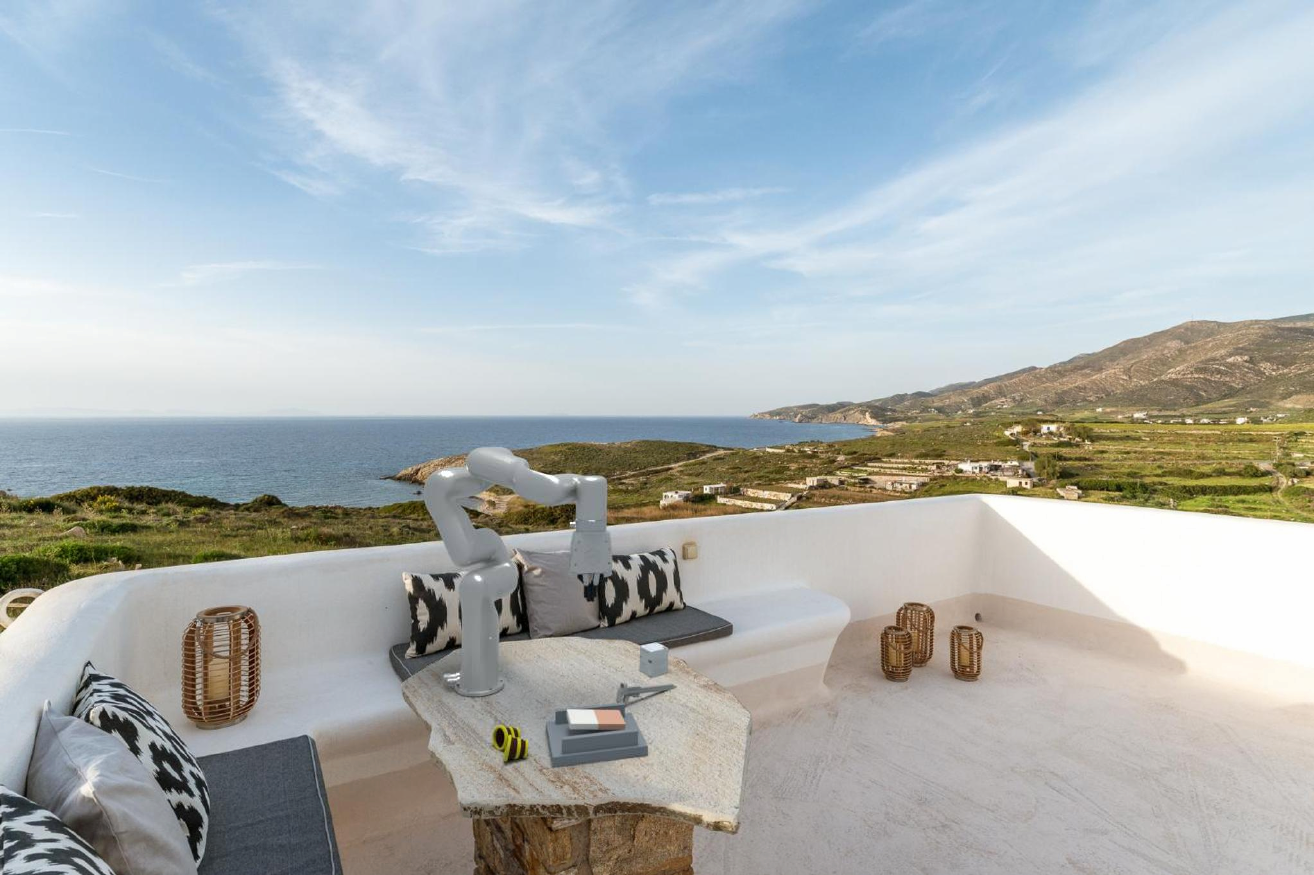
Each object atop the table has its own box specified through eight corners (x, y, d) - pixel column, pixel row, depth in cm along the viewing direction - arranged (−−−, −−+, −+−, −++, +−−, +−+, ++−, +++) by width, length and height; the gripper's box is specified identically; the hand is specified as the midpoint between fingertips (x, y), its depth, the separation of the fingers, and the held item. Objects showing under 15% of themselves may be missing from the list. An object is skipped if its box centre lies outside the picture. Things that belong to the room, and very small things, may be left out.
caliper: (618, 710, 151) (619, 685, 151) (616, 709, 152) (616, 684, 152) (677, 688, 165) (677, 665, 165) (674, 687, 166) (674, 664, 166)
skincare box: (638, 671, 176) (639, 645, 176) (655, 666, 180) (656, 641, 180) (651, 678, 172) (651, 651, 172) (668, 673, 175) (668, 647, 175)
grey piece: (552, 767, 125) (553, 742, 125) (545, 730, 140) (546, 708, 140) (647, 755, 130) (648, 731, 130) (631, 721, 145) (631, 700, 145)
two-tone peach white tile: (570, 729, 130) (570, 723, 130) (566, 714, 137) (566, 709, 137) (624, 729, 133) (625, 724, 133) (618, 715, 140) (619, 710, 140)
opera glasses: (527, 764, 128) (532, 739, 128) (503, 766, 125) (508, 741, 125) (513, 743, 136) (517, 720, 136) (489, 745, 133) (494, 721, 134)
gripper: (562, 529, 145) (561, 606, 145) (624, 527, 149) (622, 603, 149) (558, 524, 152) (557, 598, 152) (617, 523, 156) (616, 595, 156)
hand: (590, 600), depth 151 cm, fingers closed
